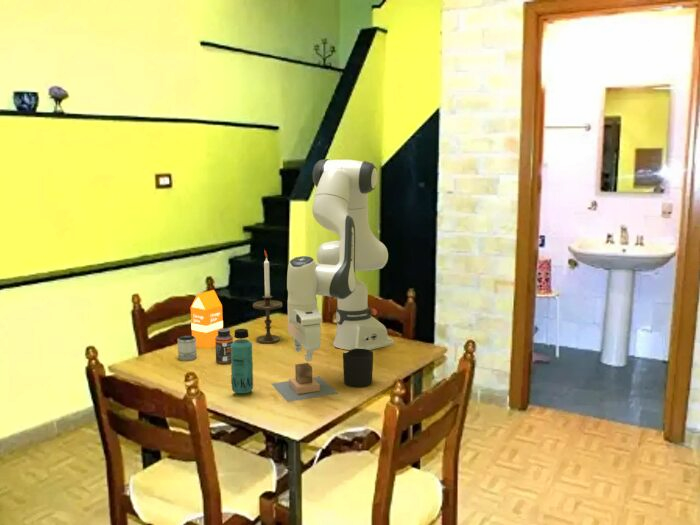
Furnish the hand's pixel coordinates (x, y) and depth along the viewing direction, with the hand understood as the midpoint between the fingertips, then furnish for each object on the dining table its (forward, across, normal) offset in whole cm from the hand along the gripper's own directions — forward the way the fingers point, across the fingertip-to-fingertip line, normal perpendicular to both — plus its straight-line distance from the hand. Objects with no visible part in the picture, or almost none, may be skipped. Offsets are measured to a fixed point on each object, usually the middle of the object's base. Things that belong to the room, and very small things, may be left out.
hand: (303, 355), depth 201 cm
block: (+8, +1, 0) cm, 8 cm away
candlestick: (+12, -53, +4) cm, 55 cm away
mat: (+11, +1, 0) cm, 11 cm away
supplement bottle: (+12, -35, -16) cm, 40 cm away
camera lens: (+12, -44, -28) cm, 53 cm away
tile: (+9, -3, 0) cm, 10 cm away
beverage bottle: (+11, -3, -18) cm, 21 cm away
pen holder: (+11, +3, +17) cm, 20 cm away
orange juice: (+12, -58, -18) cm, 62 cm away
